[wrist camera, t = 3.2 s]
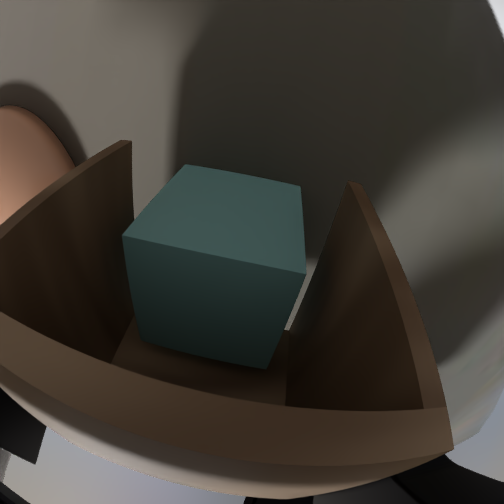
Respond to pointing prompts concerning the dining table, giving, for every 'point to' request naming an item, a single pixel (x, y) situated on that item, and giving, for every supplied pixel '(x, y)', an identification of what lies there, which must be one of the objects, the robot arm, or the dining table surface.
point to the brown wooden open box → (210, 370)
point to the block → (217, 264)
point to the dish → (27, 158)
